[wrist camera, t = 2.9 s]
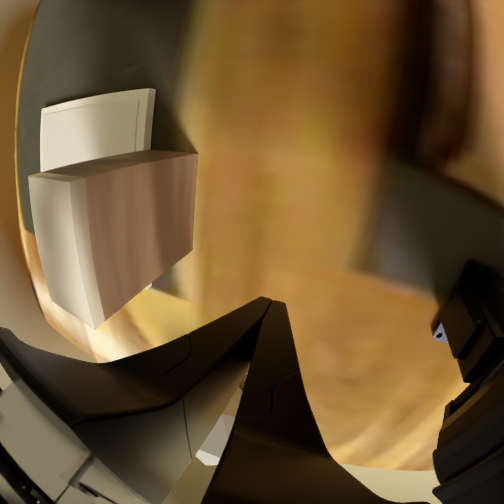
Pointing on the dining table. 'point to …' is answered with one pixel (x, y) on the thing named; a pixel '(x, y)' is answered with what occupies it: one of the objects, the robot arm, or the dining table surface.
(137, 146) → the shallow cream tray
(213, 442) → the die
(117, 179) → the walnut block
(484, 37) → the dining table surface
